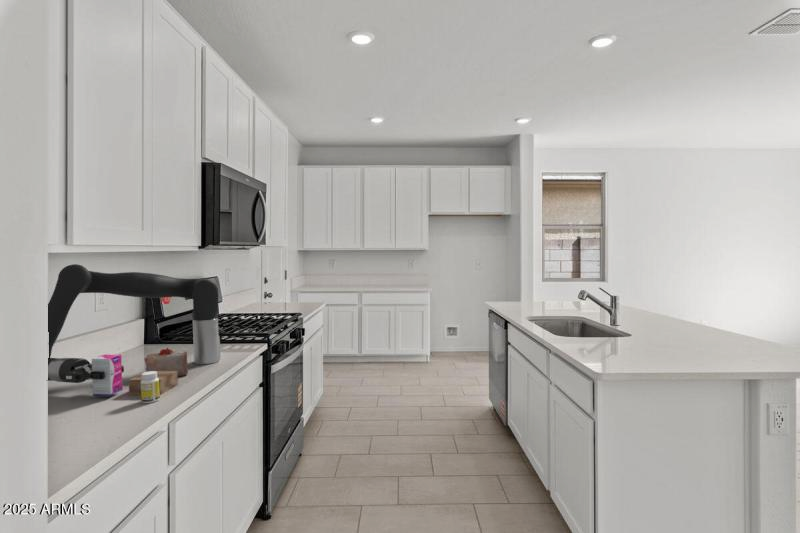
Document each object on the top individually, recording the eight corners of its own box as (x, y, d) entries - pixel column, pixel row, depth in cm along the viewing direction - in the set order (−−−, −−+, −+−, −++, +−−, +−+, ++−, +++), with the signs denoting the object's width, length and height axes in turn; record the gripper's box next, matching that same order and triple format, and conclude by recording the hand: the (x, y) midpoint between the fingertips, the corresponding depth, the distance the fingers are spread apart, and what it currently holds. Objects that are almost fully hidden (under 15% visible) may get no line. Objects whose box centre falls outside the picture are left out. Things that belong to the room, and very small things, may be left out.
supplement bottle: (155, 397, 137) (154, 369, 136) (162, 400, 134) (161, 372, 133) (138, 401, 133) (137, 373, 133) (145, 404, 130) (144, 376, 130)
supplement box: (111, 396, 135) (109, 358, 135) (91, 396, 136) (89, 358, 135) (123, 389, 141) (121, 353, 141) (105, 390, 141) (103, 354, 141)
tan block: (148, 386, 149) (148, 371, 149) (178, 385, 149) (177, 370, 149) (129, 395, 139) (128, 379, 139) (160, 395, 139) (160, 379, 139)
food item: (142, 381, 154) (141, 352, 154) (147, 375, 162) (146, 348, 161) (186, 377, 158) (185, 349, 158) (189, 371, 166) (188, 344, 166)
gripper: (45, 364, 134) (92, 366, 130) (88, 352, 148) (131, 354, 145) (47, 389, 134) (93, 392, 131) (89, 375, 148) (132, 377, 145)
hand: (113, 372), depth 138 cm, fingers closed on supplement box, 6 cm apart
